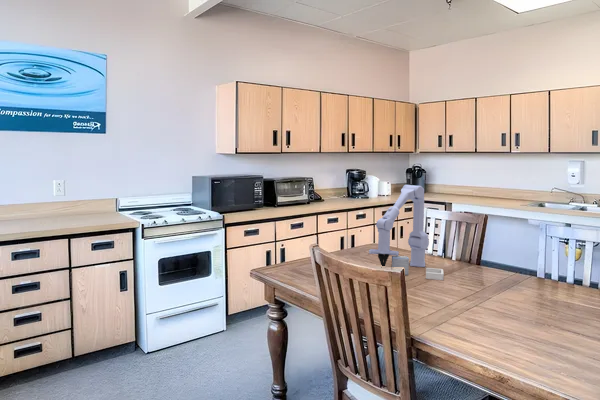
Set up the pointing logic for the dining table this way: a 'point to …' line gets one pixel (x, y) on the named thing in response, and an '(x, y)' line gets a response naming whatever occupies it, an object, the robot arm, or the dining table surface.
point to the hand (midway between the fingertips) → (383, 268)
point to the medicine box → (401, 262)
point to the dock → (434, 273)
